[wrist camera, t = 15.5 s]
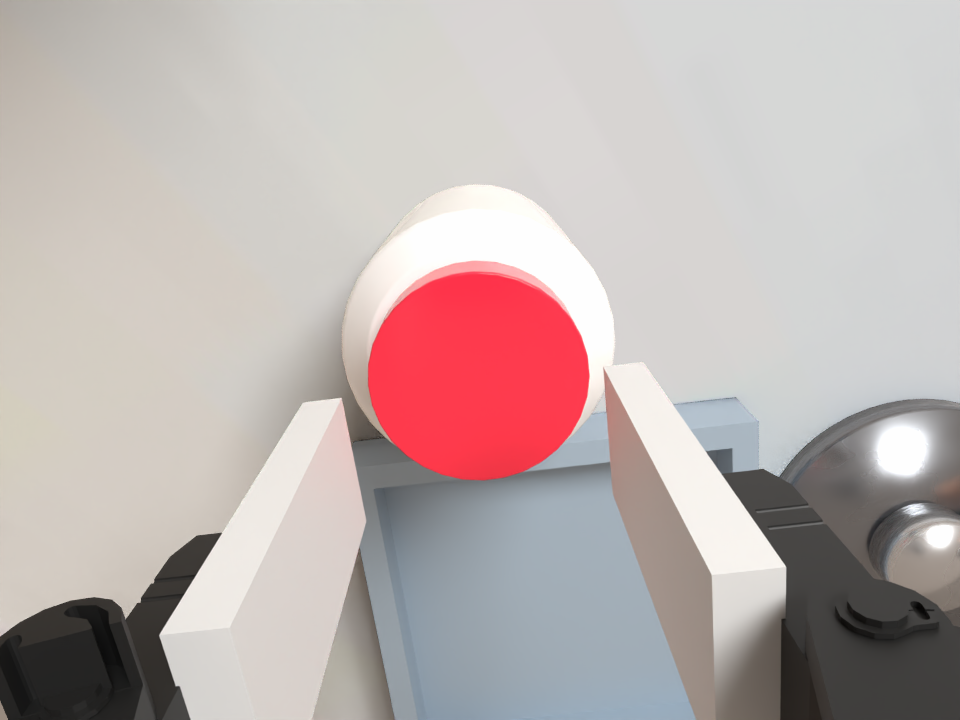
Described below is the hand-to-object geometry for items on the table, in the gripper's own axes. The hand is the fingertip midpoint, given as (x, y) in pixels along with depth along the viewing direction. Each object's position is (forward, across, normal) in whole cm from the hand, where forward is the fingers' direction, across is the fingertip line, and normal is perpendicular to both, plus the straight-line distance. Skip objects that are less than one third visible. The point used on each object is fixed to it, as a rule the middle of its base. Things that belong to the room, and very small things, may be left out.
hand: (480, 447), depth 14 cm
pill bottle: (+15, 0, 0) cm, 15 cm away
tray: (+15, +2, -14) cm, 20 cm away
